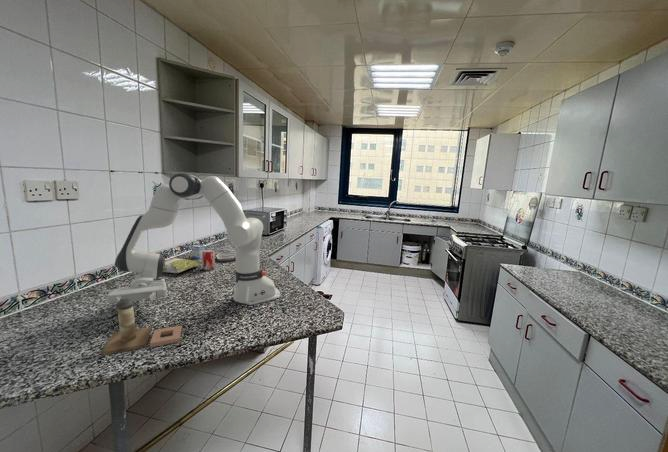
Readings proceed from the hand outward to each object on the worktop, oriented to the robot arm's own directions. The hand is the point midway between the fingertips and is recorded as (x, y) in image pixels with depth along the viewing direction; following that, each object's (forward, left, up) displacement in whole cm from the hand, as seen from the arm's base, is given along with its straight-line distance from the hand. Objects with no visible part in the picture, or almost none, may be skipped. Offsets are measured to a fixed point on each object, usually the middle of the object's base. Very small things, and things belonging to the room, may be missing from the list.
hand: (134, 301), depth 108 cm
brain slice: (-39, -81, -10) cm, 91 cm away
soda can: (-26, -61, -10) cm, 67 cm away
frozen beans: (-6, -66, -10) cm, 68 cm away
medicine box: (-19, -89, -10) cm, 92 cm away
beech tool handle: (0, +12, -9) cm, 15 cm away
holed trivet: (-12, +14, -10) cm, 21 cm away
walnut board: (0, +12, -10) cm, 15 cm away
